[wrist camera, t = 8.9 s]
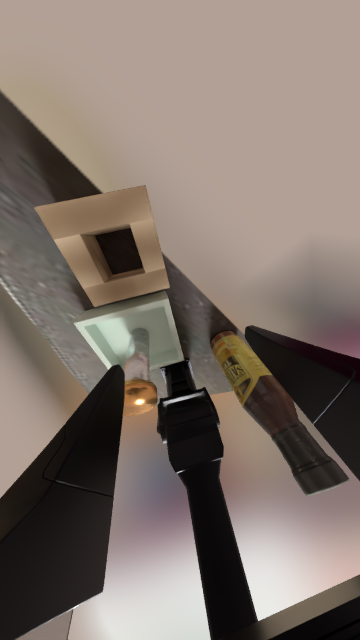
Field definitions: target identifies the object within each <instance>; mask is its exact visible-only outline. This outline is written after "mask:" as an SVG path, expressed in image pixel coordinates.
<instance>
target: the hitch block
mask: <svg viewBox="0 0 360 640" xmlns="http://www.w3.org/2000/svg"><path fill="white" fill-rule="evenodd" d="M34 208H35V210H36V211H37V213H38V215H39V216H40V218H41V220H42V221H43V223H44V225H45V226H46V228H47V230H48V231H49V233H50V235H51V236H52V238H53V239H54V241H55V243H56V244H57V246H58V248H59V249H60V251H61V253H62V254H63V256H64V258H65V259H66V261H67V263H68V264H69V266H70V268H71V269H72V271H73V272H74V274H75V276H76V277H77V279H78V281H79V282H80V284H81V286H82V287H83V289H84V291H85V292H86V294H87V296H88V297H89V299H90V301H91V302H92V304H93V305H94V307H96V306H100V305H104V304H108V303H112V302H116V301H119V300H123V299H127V298H131V297H135V296H139V295H143V294H147V293H151V292H155V291H158V290H162V289H166V288H170V286H169V282H168V277H167V273H166V269H165V265H164V261H163V257H162V252H161V248H160V244H159V240H158V236H157V232H156V228H155V223H154V219H153V215H152V211H151V206H150V202H149V198H148V194H147V190H146V186H145V185H144V186H139V187H134V188H129V189H123V190H119V191H114V192H108V193H103V194H98V195H93V196H88V197H83V198H78V199H73V200H68V201H63V202H58V203H53V204H48V205H43V206H38V207H34ZM127 228H131V230H132V233H133V236H134V239H135V242H136V245H137V249H138V252H139V255H140V258H141V261H142V264H143V267H144V268H140V269H136V270H132V271H128V272H123V273H119V274H115V275H112V272H111V270H110V268H109V266H108V264H107V261H106V259H105V257H104V255H103V253H102V250H101V248H100V246H99V244H98V242H97V239H96V237H95V236H96V235H100V234H105V233H109V232H114V231H118V230H123V229H127Z"/></svg>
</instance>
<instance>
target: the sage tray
mask: <svg viewBox="0 0 360 640" xmlns="http://www.w3.org/2000/svg"><path fill="white" fill-rule="evenodd" d="M74 325H75V326H76V327H77V329H78V330H79V331H80V333H81V334H82V335H83V337H84V338H85V339H86V340H87V342H88V343H89V344H90V346H91V347H92V348H93V350H94V351H95V352H96V354H97V355H98V356H99V358H100V359H101V360H102V362H103V363H104V364H105V366H106V367H107V368H108V369H110V368H111V366H113V365H116V364H119V365H120V366H121V368H122V369H123V371H124V366H125V360H126V355H127V350H128V344H129V339H130V334H131V332H132V330H134V329H136V328H144V329H146V330H147V331H148V332H149V353H150V370H153V369H157V368H160V367H163V366H167V365H170V364H173V363H177V362H180V361H183V360H184V357H183V353H182V350H181V346H180V342H179V338H178V334H177V330H176V326H175V322H174V319H173V315H172V311H171V307H170V303H169V299H168V296H167V293H166V290H164V291H160V292H156V293H152V294H148V295H144V296H140V297H136V298H133V299H129V300H125V301H121V302H117V303H113V304H109V305H105V306H101V307H98V308H94V309H90V310H86V311H84V312H83V313H82V315H81V316H80V317H79V318H78V319H77V320H76V321H75V322H74Z"/></svg>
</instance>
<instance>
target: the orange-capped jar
mask: <svg viewBox="0 0 360 640" xmlns="http://www.w3.org/2000/svg"><path fill="white" fill-rule="evenodd" d="M124 373H125V400H124V409H123V416H134V415H139V414H143V413H145V412H147V411H149V410H151V409H152V408H153V407H154V406H155V405H156V403H157V388H156V386H155V385H154V384H153V383H152V382H150V353H149V332H148V331H147V330H146V329H144V328H136V329H134V330H132V332H131V334H130V339H129V344H128V350H127V355H126V360H125V366H124Z"/></svg>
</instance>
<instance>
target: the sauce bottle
mask: <svg viewBox="0 0 360 640" xmlns="http://www.w3.org/2000/svg"><path fill="white" fill-rule="evenodd" d="M211 348H212V351H213V355H214V356H215V358H216V360H217V362H218V364H219V365H220V367H221V369H222V371H223V373H224V375H225V376H226V378H227V380H228V382H229V383H230V385H231V387H232V389H233V391H234V392H235V394H236V396H237V398H238V400H239V402H240V403H241V405H242V407H243V408H244V409H245V410H246V411H247V412H248V413H249V415H250V416H252V418H253V419H254V420H255V421H256V422H257V423H258V424H259V425H260V426H261V427H262V428H263V429H264V430H265V431H266V432H267V433H268V434H269V435H270V436H271V438H272V440H273V441H274V442H275V444H276V445H277V447H278V448H279V450H280V451H281V453H282V455H283V457H284V458H285V460H286V461H287V463H288V465H289V466H290V468H291V470H292V473H293V476H294V478H295V480H296V481H297V483H298V484H299V486H300V487H301V489H302V491H303V492H304V493H305V494H306V495H307V496H311V495H315V494H317V493H320V492H323V491H327V490H330V489H332V488H335V487H338V486H340V485H342V484H345V483H347V482H348V481H349V478H348V477H347V475H346V474H345V473H344V471H343V470H342V469H341V468H340V466H339V465H338V464H337V463H336V462H335V461H334V460H333V459H332V458H331V457H329V456H328V455H327V454H326V453H325V452H324V450H323V449H322V448H321V447H320V446H319V444H318V443H317V442H316V440H315V439H314V438H313V437H312V436H311V435H310V433H309V432H308V431H307V429H306V427H305V426H304V425H303V424H302V423H301V422H300V421H299V419H298V415H297V413H296V408H295V406H294V402H293V399H292V398H291V397H290V396H289V394H288V393H287V392H286V391H285V390H284V388H283V387H282V386H281V385H280V383H279V382H278V381H277V380H276V379H275V377H274V376H273V375H272V374H271V373H270V371H269V370H268V369H267V368H266V366H265V365H264V364H263V363H262V362H261V360H260V359H259V358H258V357H257V356H256V355H255V353H254V352H253V351H252V350H251V349H250V348H249V347H248V346H247V344H246V343H245V342H244V341H243V340H242V339H241V338H240V337H239V336H237V334H236V333H234V332H232V331H224V332H220V333H219V334H217V335H216V336H215V337H214V338H213V340H212V342H211Z"/></svg>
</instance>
